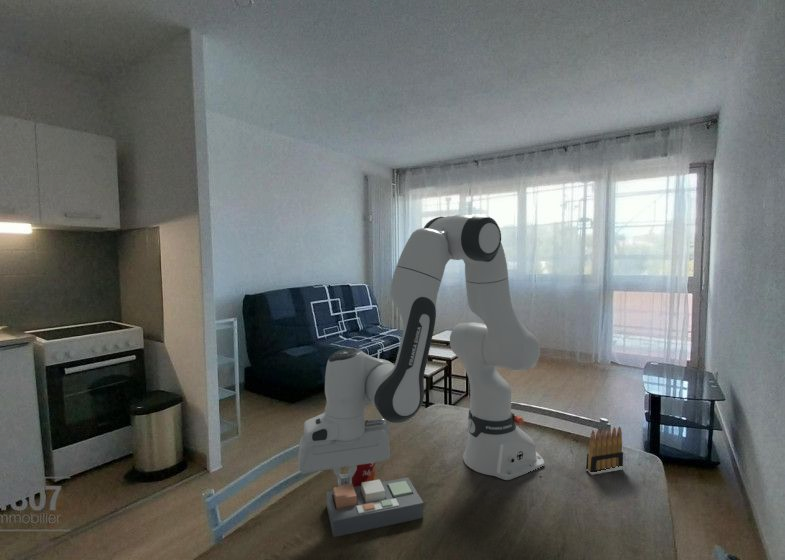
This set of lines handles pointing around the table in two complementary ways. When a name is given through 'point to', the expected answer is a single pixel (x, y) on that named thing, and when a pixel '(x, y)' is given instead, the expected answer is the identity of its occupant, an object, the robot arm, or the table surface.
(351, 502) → the key terracotta
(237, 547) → the table surface
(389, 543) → the table surface
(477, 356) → the robot arm
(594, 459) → the ammunition clip
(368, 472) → the paper cup
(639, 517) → the table surface
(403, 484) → the key sage
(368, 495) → the key white
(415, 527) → the table surface
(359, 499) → the keypad housing
